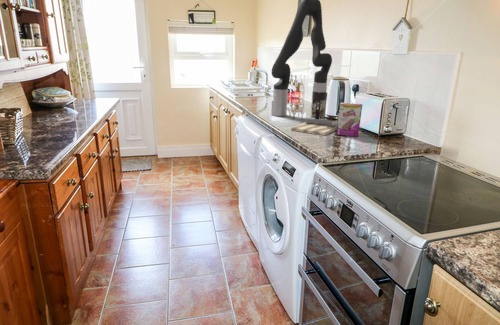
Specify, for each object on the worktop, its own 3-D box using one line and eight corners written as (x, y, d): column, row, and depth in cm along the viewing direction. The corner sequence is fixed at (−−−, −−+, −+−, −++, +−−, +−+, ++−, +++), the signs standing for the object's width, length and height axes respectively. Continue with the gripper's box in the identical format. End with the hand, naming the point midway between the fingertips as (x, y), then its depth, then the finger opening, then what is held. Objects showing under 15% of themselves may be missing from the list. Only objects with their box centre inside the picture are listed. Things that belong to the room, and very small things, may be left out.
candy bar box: (335, 135, 178) (339, 103, 173) (336, 133, 182) (340, 102, 177) (358, 137, 175) (362, 105, 169) (358, 135, 179) (362, 103, 174)
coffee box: (310, 117, 223) (312, 92, 218) (310, 115, 229) (312, 91, 224) (325, 117, 222) (327, 92, 217) (324, 116, 228) (326, 91, 223)
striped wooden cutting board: (291, 130, 187) (291, 126, 186) (310, 122, 206) (310, 119, 206) (324, 135, 177) (325, 132, 176) (341, 127, 196) (341, 124, 196)
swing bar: (303, 122, 197) (304, 118, 196) (305, 121, 200) (306, 117, 199) (336, 126, 188) (336, 122, 188) (337, 124, 191) (338, 121, 191)
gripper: (313, 88, 199) (311, 118, 205) (312, 91, 187) (309, 123, 193) (326, 89, 197) (324, 119, 203) (326, 92, 185) (323, 123, 191)
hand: (317, 120), depth 198 cm, fingers closed
